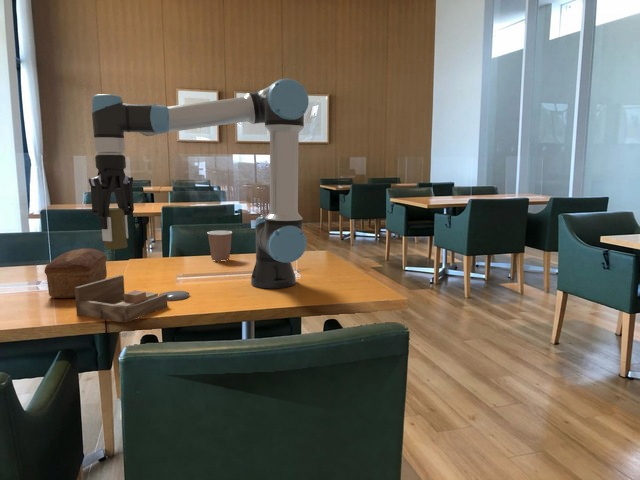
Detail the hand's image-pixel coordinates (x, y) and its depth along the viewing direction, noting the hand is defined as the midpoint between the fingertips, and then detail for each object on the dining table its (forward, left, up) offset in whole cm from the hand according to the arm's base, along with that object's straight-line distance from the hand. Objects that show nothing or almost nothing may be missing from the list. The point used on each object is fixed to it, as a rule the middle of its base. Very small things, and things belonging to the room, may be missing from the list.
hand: (115, 239), depth 134 cm
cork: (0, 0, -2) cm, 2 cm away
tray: (-3, +2, -19) cm, 20 cm away
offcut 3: (-8, -3, -20) cm, 21 cm away
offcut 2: (-8, +2, -20) cm, 21 cm away
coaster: (-7, -15, -19) cm, 25 cm away
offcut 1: (-8, +6, -20) cm, 22 cm away
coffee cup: (+12, -68, -20) cm, 72 cm away
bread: (+27, -10, -20) cm, 35 cm away
